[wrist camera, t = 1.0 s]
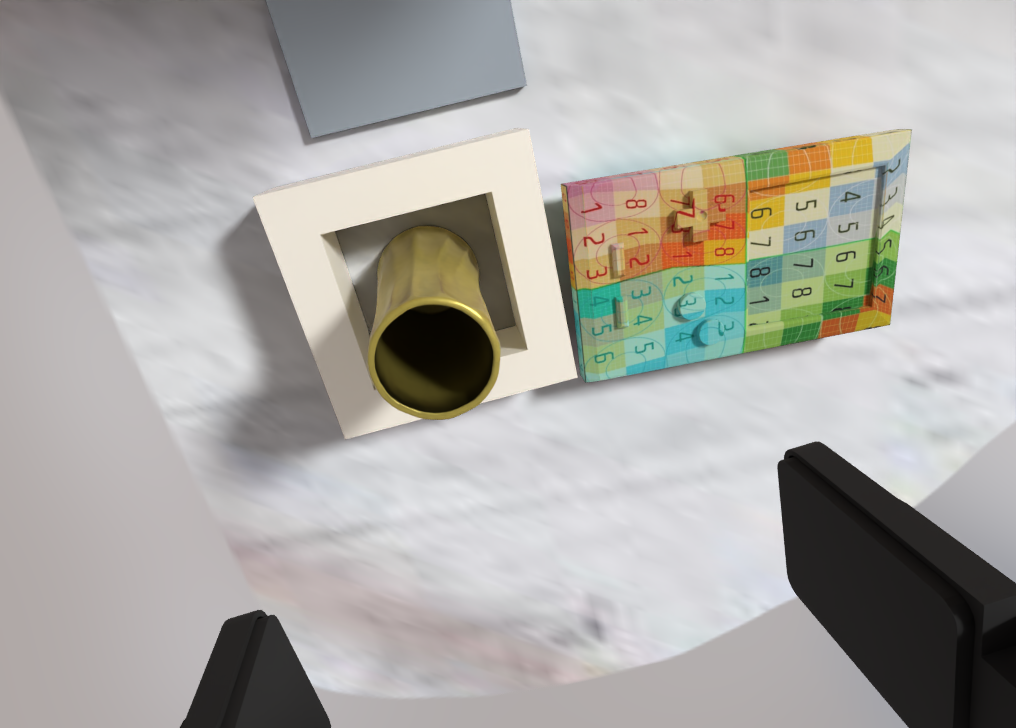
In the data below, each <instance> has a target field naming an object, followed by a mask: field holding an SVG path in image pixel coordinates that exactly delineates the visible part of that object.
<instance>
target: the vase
mask: <svg viewBox="0 0 1016 728" xmlns="http://www.w3.org/2000/svg"><path fill="white" fill-rule="evenodd" d="M377 279H378V286H377V306H376V313H375V319H374V323H373V327H372V332H371V335H370V338H369V345H368V359H367V362H368V369H369V373H370V376H371V378H372V381H373V383H374V385H375V387H376V389H377V391H378V392H379V394H380V395H381V397H382V398H383V399H384V400H385V401H386V402H388V403H389V404H390V405H391V406H393V407H394V408H396V409H397V410H399V411H402V412H404V413H407V414H409V415H412V416H415V417H418V418H422V419H430V420H443V419H450V418H454V417H456V416H459V415H461V414H463V413H465V412H467V411H469V410H471V409H473V408H475V407H476V406H478V405H479V404H480V403H481V402H482V401H483V400H484V399H485V398H486V397H487V396H488V394H489V393H490V391H491V390H492V388H493V387H494V385H495V383H496V380H497V378H498V375H499V368H500V355H501V348H500V342H499V339H498V337H497V334H496V332H495V329H494V327H493V324H492V322H491V319H490V315H489V313H488V310H487V307H486V305H485V302H484V300H483V298H482V295H481V292H480V288H479V266H478V263H477V260H476V257H475V255H474V253H473V251H472V249H471V248H470V246H469V245H468V244H467V243H466V242H465V241H464V240H463V239H462V238H460V237H459V236H458V235H456V234H454V233H452V232H451V231H449V230H446V229H444V228H440V227H434V226H419V227H414V228H411V229H408V230H406V231H404V232H402V233H401V234H399V235H398V236H396V237H395V238H394V239H393V240H392V241H391V242H390V243H389V244H388V245H387V246H386V248H385V249H384V251H383V253H382V255H381V257H380V260H379V264H378V269H377Z"/></svg>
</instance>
